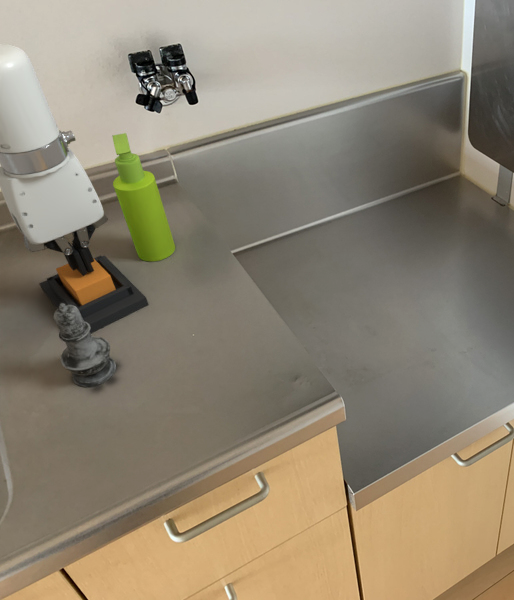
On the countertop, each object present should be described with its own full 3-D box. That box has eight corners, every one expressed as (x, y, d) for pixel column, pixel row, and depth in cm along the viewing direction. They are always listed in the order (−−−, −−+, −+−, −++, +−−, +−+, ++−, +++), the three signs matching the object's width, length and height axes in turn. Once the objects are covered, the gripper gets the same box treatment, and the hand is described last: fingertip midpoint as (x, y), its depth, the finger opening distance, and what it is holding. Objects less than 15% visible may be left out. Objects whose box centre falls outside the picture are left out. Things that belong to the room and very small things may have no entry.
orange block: (83, 310, 86) (75, 291, 84) (64, 287, 90) (55, 268, 88) (117, 294, 89) (110, 275, 87) (97, 272, 93) (89, 254, 91)
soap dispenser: (140, 269, 96) (99, 153, 83) (135, 245, 101) (96, 132, 87) (179, 259, 98) (144, 145, 84) (172, 236, 102) (139, 124, 89)
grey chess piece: (121, 352, 82) (92, 284, 74) (114, 385, 78) (81, 316, 70) (75, 358, 82) (41, 289, 74) (65, 391, 77) (27, 322, 69)
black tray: (81, 338, 84) (73, 322, 82) (42, 290, 92) (35, 275, 90) (148, 304, 90) (143, 289, 88) (107, 262, 97) (101, 247, 95)
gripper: (80, 124, 81) (122, 236, 93) (-44, 163, 73) (20, 280, 86) (104, 143, 77) (145, 258, 89) (-24, 186, 69) (41, 306, 81)
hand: (84, 269), depth 87 cm, fingers closed
